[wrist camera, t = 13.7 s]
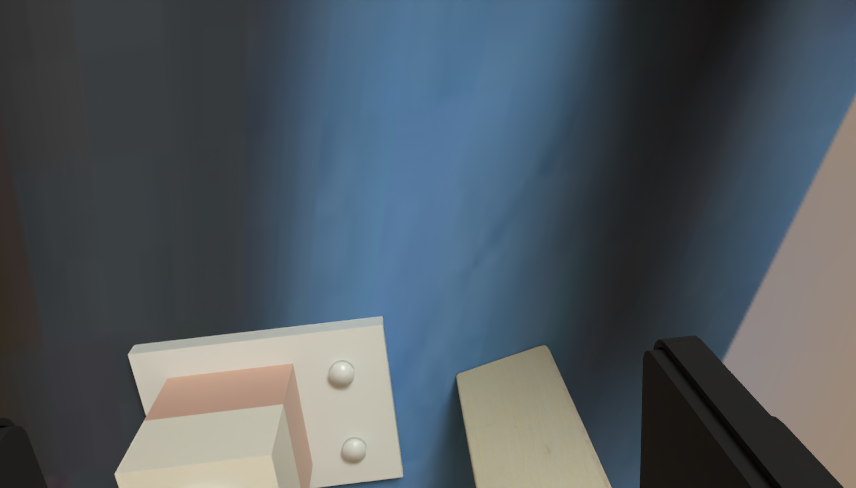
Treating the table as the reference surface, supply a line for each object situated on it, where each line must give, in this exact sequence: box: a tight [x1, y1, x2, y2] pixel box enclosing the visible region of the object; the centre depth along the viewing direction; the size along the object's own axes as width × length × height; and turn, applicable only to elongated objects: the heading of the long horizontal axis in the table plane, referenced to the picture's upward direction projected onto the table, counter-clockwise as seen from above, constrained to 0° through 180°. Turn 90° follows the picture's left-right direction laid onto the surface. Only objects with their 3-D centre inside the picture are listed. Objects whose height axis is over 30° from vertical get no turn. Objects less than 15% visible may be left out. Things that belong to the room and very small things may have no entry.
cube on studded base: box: [115, 316, 403, 488], centre depth 40 cm, size 16×12×10 cm
